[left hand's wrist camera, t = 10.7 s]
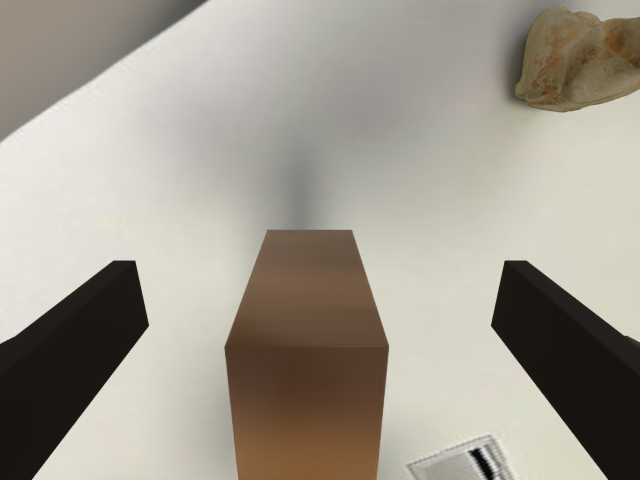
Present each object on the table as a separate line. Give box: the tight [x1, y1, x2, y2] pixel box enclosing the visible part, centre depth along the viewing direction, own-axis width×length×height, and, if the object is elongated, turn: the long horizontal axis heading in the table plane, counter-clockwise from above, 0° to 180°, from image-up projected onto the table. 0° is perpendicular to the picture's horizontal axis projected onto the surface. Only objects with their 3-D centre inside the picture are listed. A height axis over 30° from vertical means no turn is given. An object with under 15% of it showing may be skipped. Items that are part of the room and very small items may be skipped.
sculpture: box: [514, 6, 640, 112], centre depth 22 cm, size 6×7×15 cm
